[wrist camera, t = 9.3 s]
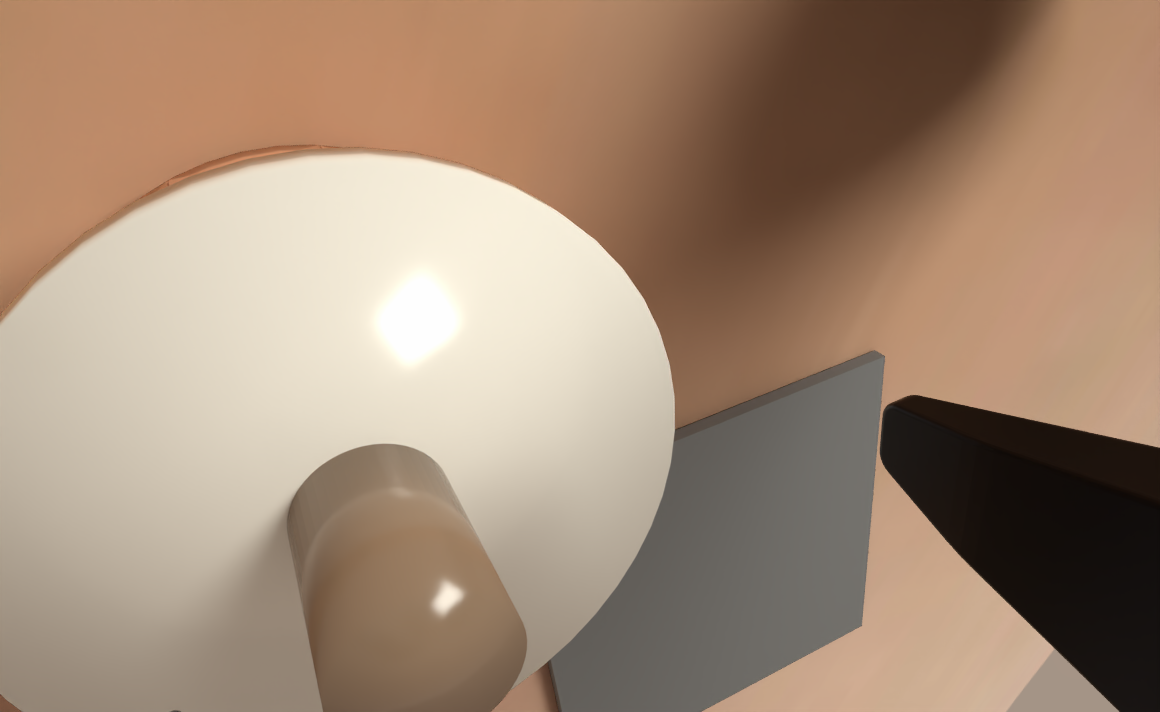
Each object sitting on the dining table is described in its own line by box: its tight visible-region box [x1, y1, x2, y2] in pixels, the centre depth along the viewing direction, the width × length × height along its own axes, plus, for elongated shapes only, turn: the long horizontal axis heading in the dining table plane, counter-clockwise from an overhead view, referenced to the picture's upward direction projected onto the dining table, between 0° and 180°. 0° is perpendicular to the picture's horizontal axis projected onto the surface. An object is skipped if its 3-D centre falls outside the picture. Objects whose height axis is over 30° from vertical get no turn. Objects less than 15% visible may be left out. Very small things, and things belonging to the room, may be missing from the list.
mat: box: [548, 350, 885, 712], centre depth 29 cm, size 14×14×1 cm
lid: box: [0, 147, 675, 712], centre depth 13 cm, size 13×13×5 cm
